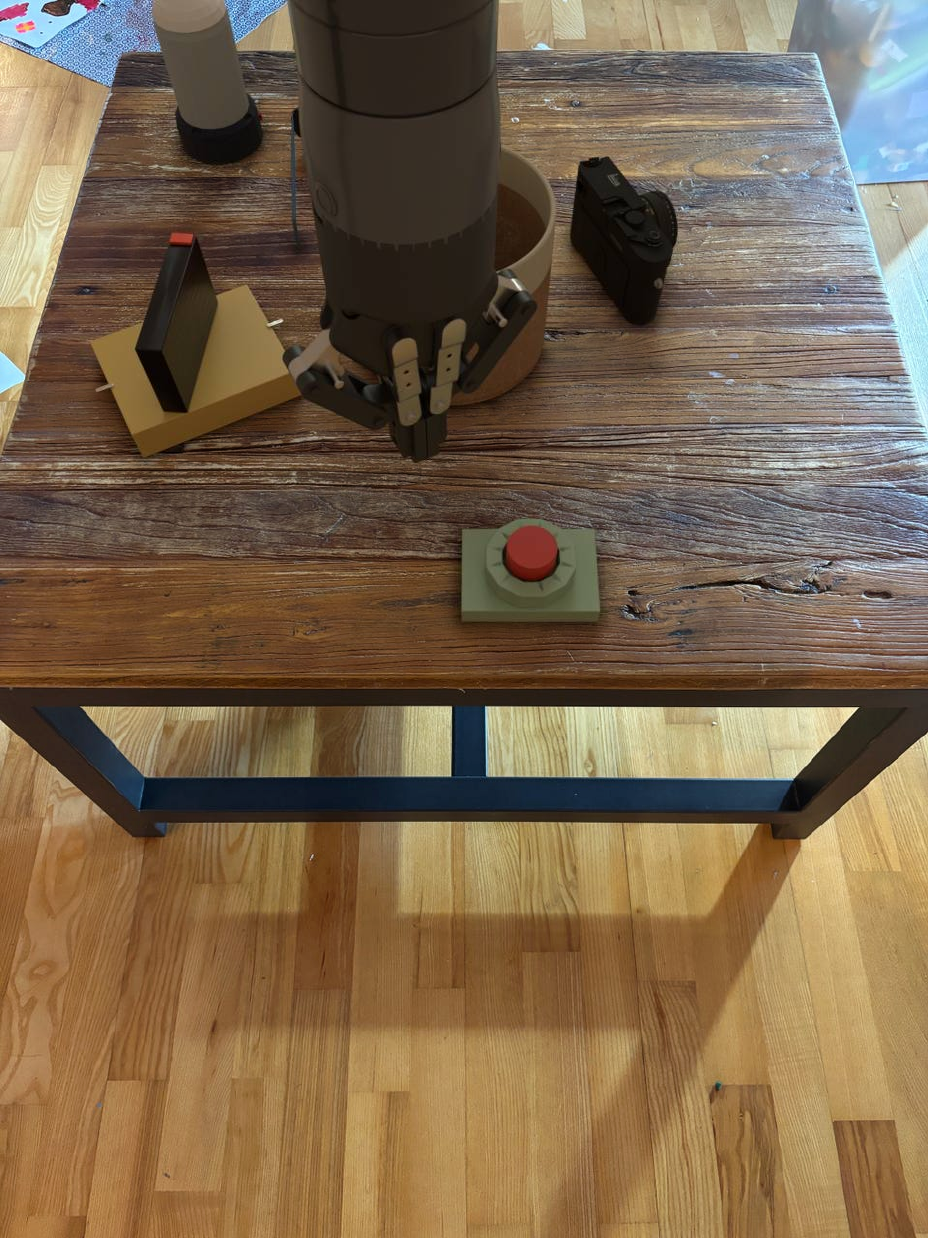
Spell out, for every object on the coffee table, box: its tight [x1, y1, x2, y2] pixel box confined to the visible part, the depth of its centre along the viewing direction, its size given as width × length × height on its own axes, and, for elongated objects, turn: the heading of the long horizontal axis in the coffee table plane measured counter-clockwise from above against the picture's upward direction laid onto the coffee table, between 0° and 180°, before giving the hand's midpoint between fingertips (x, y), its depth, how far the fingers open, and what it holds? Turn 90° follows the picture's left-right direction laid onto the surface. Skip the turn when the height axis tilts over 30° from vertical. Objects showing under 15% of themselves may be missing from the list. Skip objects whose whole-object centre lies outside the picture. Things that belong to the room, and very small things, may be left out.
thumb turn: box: [135, 232, 218, 413], centre depth 72 cm, size 12×2×7 cm, turn 175°
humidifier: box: [151, 0, 264, 165], centre depth 81 cm, size 8×8×25 cm
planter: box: [376, 144, 557, 406], centre depth 74 cm, size 16×16×14 cm
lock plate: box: [89, 284, 302, 459], centre depth 77 cm, size 16×11×3 cm
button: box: [506, 526, 558, 581], centre depth 66 cm, size 4×4×2 cm
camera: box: [569, 155, 679, 325], centre depth 80 cm, size 14×7×8 cm, turn 24°
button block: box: [460, 518, 601, 623], centre depth 68 cm, size 10×7×4 cm
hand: (418, 448), depth 51 cm, fingers closed
